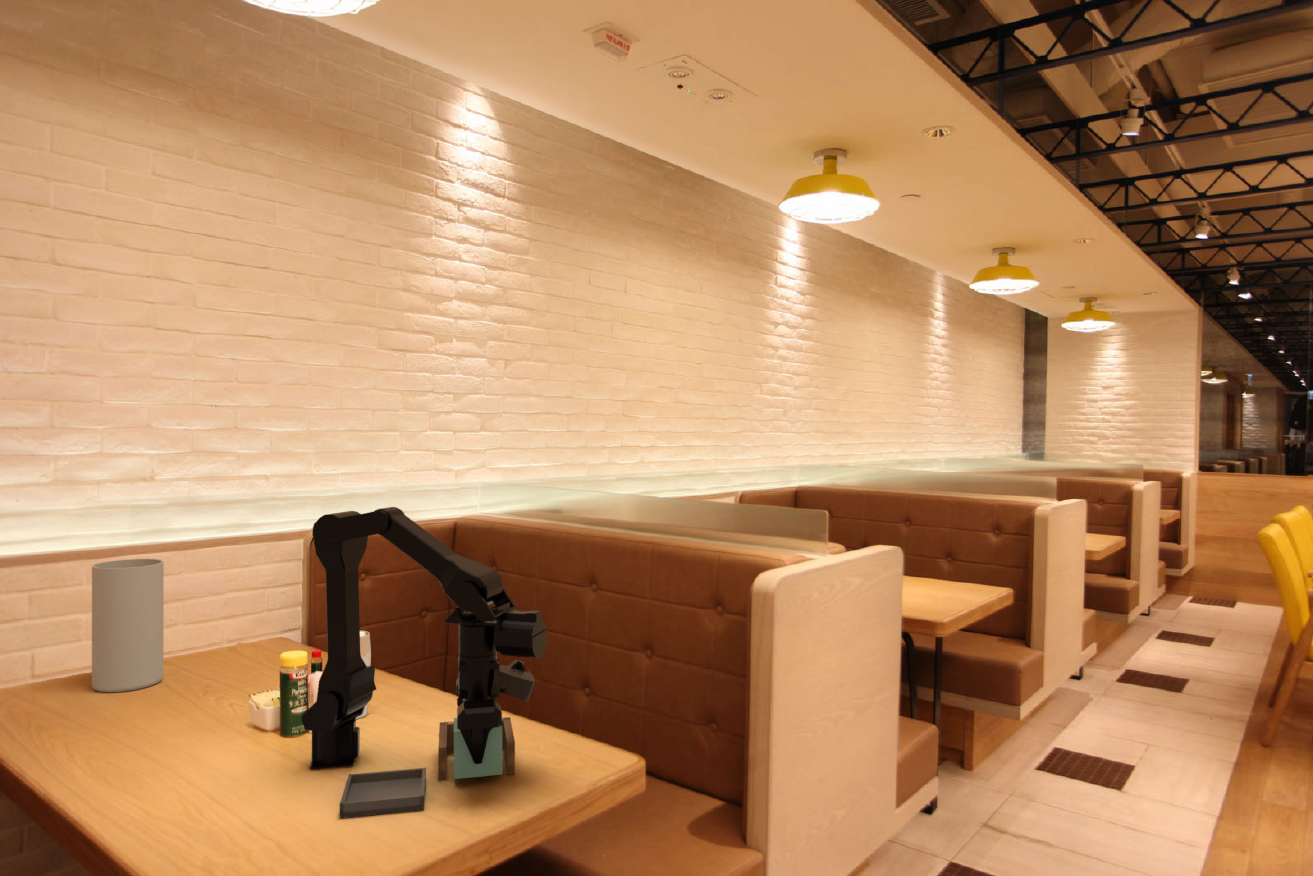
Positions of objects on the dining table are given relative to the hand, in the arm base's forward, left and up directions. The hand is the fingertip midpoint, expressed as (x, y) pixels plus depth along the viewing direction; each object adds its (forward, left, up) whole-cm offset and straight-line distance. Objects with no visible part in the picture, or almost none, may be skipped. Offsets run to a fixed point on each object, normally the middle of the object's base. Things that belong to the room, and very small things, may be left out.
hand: (477, 755), depth 126 cm
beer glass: (-22, +34, -4) cm, 41 cm away
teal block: (0, 0, -2) cm, 2 cm away
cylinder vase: (-69, +64, -4) cm, 94 cm away
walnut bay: (0, +6, -4) cm, 7 cm away
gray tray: (-13, -4, -4) cm, 14 cm away
